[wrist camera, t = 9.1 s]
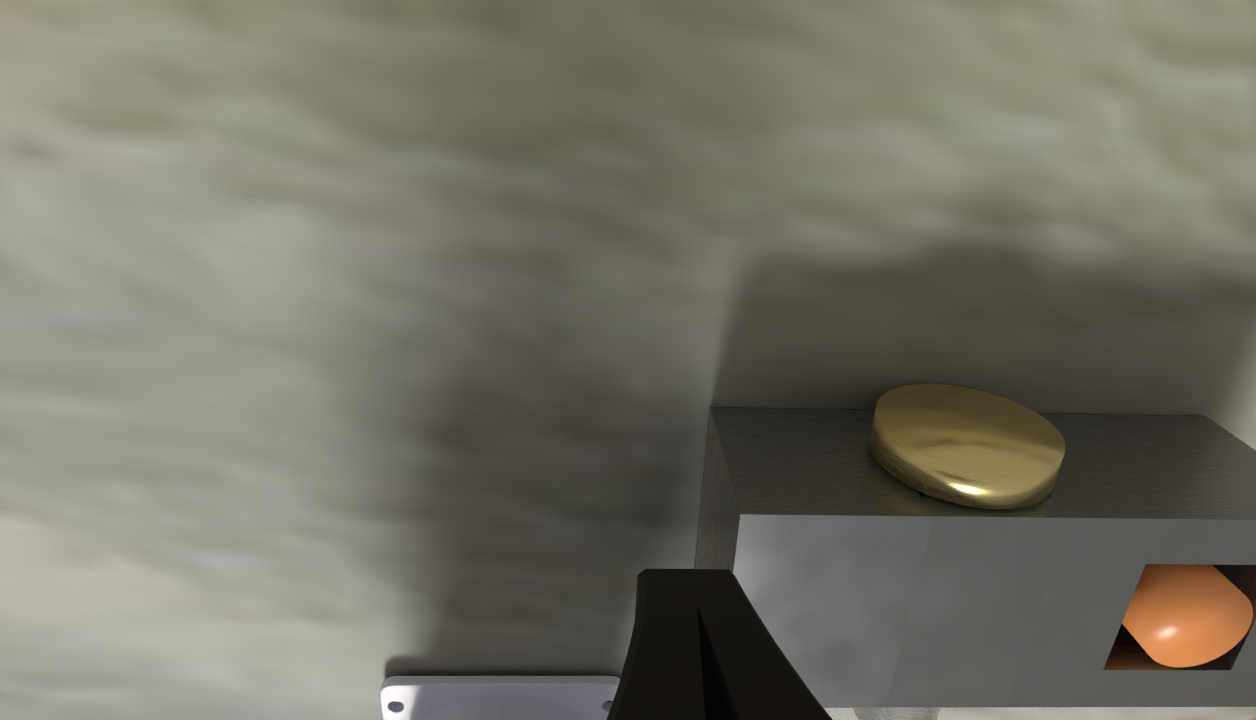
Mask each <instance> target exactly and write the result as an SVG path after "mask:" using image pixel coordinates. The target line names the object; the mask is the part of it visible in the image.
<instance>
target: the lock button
mask: <svg viewBox="0 0 1256 720" xmlns="http://www.w3.org/2000/svg"><path fill="white" fill-rule="evenodd" d="M1252 618H1253V608H1252V605H1251V602H1250V600H1249V599H1248V598H1247V597H1246V595H1245V594H1243V593H1242V592H1241V591H1240V590H1239V589H1238V588H1237V587H1236V586H1235V585H1234V584H1233V583H1231V582H1230V581H1229V580H1228V579H1227V578H1226V577H1225V576H1224V575H1223V574H1222V573H1221V572H1219V571H1218V570H1217V569H1216V568H1215V567H1214V566H1213V565H1204V564H1146V565H1145V567H1144V569H1143V572H1142V574H1141V577H1140V579H1139V582H1138V584H1137V587H1136V589H1135V592H1134V594H1133V597H1132V599H1131V602H1130V604H1129V607H1128V609H1127V612H1126V614H1125V617H1124V619H1123V622H1122V624H1123V625H1124V626H1125V628H1126V629H1127V630H1128V631H1129V632H1130V634H1131V635H1132V636H1133V637H1134V638H1135V639H1136V641H1137V642H1138V643H1139V644H1140V645H1141V647H1142V648H1143V649H1144V650H1145V651H1146V652H1147V654H1148V655H1149V656H1150V657H1151V658H1152V659H1153V660H1155V661H1156V662H1158V663H1160V664H1162V665H1166V666H1170V667H1191V666H1196V665H1200V664H1203V663H1207V662H1209V661H1212V660H1214V659H1216V658H1218V657H1220V656H1222V655H1223V654H1225V653H1226V652H1228V651H1229V650H1231V649H1232V648H1233V647H1234V646H1235V645H1236V644H1238V643H1239V641H1240V640H1241V639H1242V638H1243V637H1244V636H1245V634H1246V633H1247V631H1248V629H1249V627H1250V625H1251V622H1252Z"/></svg>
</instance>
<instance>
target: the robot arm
mask: <svg viewBox="0 0 1256 720" xmlns="http://www.w3.org/2000/svg"><path fill="white" fill-rule="evenodd" d="M379 696H380V703H381V711H382V719H383V720H832V719H831V717H830V716H829V715H828V714H827V712H826V711H825V710H824V708H823V707H822V706H821V704H820V703H819V702H818V701H817V699H816V698H815V697H814V695H813V694H812V693H811V691H810V690H809V689H808V687H807V686H806V684H805V683H804V682H803V680H802V679H801V677H800V676H799V675H798V673H797V672H796V671H795V669H794V668H793V666H792V665H791V664H790V662H789V661H788V659H787V658H786V657H785V655H784V654H783V652H782V651H781V649H780V648H779V646H778V645H777V643H776V642H775V640H774V639H773V637H772V636H771V634H770V633H769V631H768V630H767V628H766V627H765V625H764V623H763V622H762V620H761V619H760V617H759V616H758V614H757V612H756V611H755V609H754V608H753V606H752V604H751V603H750V601H749V599H748V598H747V596H746V594H745V592H744V591H743V589H742V587H741V585H740V584H739V582H738V580H737V578H736V576H735V575H734V574H733V573H732V572H731V571H730V570H729V569H645V570H643V571H642V572H641V573H640V574H638V576H637V594H636V611H635V623H634V628H633V633H632V638H631V642H630V646H629V649H628V653H627V657H626V660H625V664H624V668H623V671H622V675H621V679H620V678H618V677H615V676H392V677H389V678H387V679H385V680H384V681H383V683H382V686H381V689H380V694H379ZM394 701H398V702H401V703H398V702H394ZM606 701H613V702H606Z"/></svg>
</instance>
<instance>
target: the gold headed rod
mask: <svg viewBox="0 0 1256 720" xmlns="http://www.w3.org/2000/svg"><path fill="white" fill-rule="evenodd" d="M869 446H870V450H871V452H872V455H873V457H874V458H875V459H876V461H877V462H878V463H879V464H880V465H881V466H882V467H883V468H884V469H885V470H886V471H887V472H888V473H890V474H891V475H892V476H894V477H895V478H896V479H898V480H899V481H901V482H903V483H905V484H906V485H908V486H910V487H912V488H914V489H916V490H917V492H918V493H919V495H920V496H933V497H935V498H939V499H942V500H945V501H948V502H952V503H956V504H960V505H965V506H970V507H977V508H985V509H1015V508H1022V507H1026V506H1031V505H1033V504H1036V503H1039V502H1040V501H1042V500H1044V499H1045V498H1046V497H1047V496H1048V495H1050V493H1051V492H1052V490H1053V487H1054V484H1055V481H1056V478H1057V475H1058V472H1059V469H1060V466H1061V463H1062V460H1063V457H1064V453H1065V449H1066V447H1065V441H1064V439H1063V437H1062V435H1061V434H1060V432H1059V431H1058V430H1057V429H1056V428H1055V427H1054V426H1053V425H1052V424H1051V423H1050V422H1049V421H1048V420H1046V419H1045V418H1044V417H1042V416H1041V415H1039V414H1038V413H1036V412H1034V411H1032V410H1031V409H1029V408H1027V407H1025V406H1023V405H1021V404H1019V403H1016V402H1014V401H1012V400H1009V399H1006V398H1004V397H1001V396H998V395H995V394H992V393H988V392H985V391H981V390H977V389H972V388H967V387H961V386H955V385H945V384H914V385H907V386H902V387H898V388H895V389H893V390H890V391H888V392H887V393H885V394H884V395H882V396H881V397H880V399H879V400H878V401H877V404H876V408H875V413H874V418H873V423H872V428H871V434H870V439H869ZM940 708H941V707H859V708H853V709H854V712H855V714H856V716H857V718H858V720H937V718H938V714H939V711H940Z"/></svg>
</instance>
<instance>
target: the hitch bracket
mask: <svg viewBox="0 0 1256 720" xmlns="http://www.w3.org/2000/svg"><path fill="white" fill-rule="evenodd" d="M874 413H875V410H831V409H774V408H718V407H710V415H709V425H708V436H707V446H706V456H705V467H704V477H703V487H702V498H701V508H700V518H699V529H698V539H697V549H696V560H695V569H729V570H730V571H731V572H732V573H733V574H734V575H735V576H736V578H737V580H738V582H739V584H740V585H741V587H742V589H743V591H744V592H745V594H746V596H747V598H748V599H749V601H750V603H751V604H752V606H753V608H754V609H755V611H756V612H757V614H758V616H759V617H760V619H761V620H762V622H763V623H764V625H765V627H766V628H767V630H768V631H769V633H770V634H771V636H772V637H773V639H774V640H775V642H776V643H777V645H778V646H779V648H780V649H781V651H782V652H783V654H784V655H785V657H786V658H787V659H788V661H789V662H790V664H791V665H792V666H793V668H794V669H795V671H796V672H797V673H798V675H799V676H800V677H801V679H802V680H803V682H804V683H805V684H806V686H807V687H808V689H809V690H810V691H811V693H812V694H813V695H814V697H815V698H816V699H817V701H818V702H819V703H820V704H821V706H822V707H823V708H859V707H1256V450H1254V449H1253V448H1251V447H1250V446H1248V445H1247V444H1245V443H1244V442H1242V441H1241V440H1239V439H1238V438H1236V437H1235V436H1234V435H1232V434H1231V433H1229V432H1228V431H1226V430H1225V429H1223V428H1222V427H1220V426H1219V425H1217V424H1216V423H1215V422H1213V421H1212V420H1210V419H1209V418H1207V417H1206V416H1167V415H1111V414H1055V413H1038V414H1039V415H1041V416H1042V417H1044V418H1045V419H1046V420H1048V421H1049V422H1050V423H1051V424H1052V425H1053V426H1054V427H1055V428H1056V429H1057V430H1058V431H1059V432H1060V434H1061V435H1062V437H1063V439H1064V441H1065V447H1066V449H1065V453H1064V457H1063V460H1062V463H1061V466H1060V469H1059V472H1058V475H1057V478H1056V481H1055V484H1054V487H1053V490H1052V492H1051V493H1050V495H1048V496H1047V497H1046V498H1045V499H1044V500H1042V501H1040V502H1039V503H1036V504H1033V505H1031V506H1026V507H1022V508H1015V509H985V508H977V507H970V506H965V505H960V504H956V503H952V502H948V501H945V500H942V499H939V498H935V497H933V496H920V495H919V493H918V492H917V490H916V489H914V488H912V487H910V486H908V485H906V484H905V483H903V482H901V481H899V480H898V479H896V478H895V477H894V476H892V475H891V474H890V473H888V472H887V471H886V470H885V469H884V468H883V467H882V466H881V465H880V464H879V463H878V462H877V461H876V459H875V458H874V457H873V455H872V452H871V450H870V446H869V439H870V434H871V428H872V423H873V418H874ZM1146 564H1204V565H1213V566H1214V567H1215V568H1216V569H1217V570H1218V571H1219V572H1221V573H1222V574H1223V575H1224V576H1225V577H1226V578H1227V579H1228V580H1229V581H1230V582H1231V583H1233V584H1234V585H1235V586H1236V587H1237V588H1238V589H1239V590H1240V591H1241V592H1242V593H1243V594H1245V595H1246V597H1247V598H1248V599H1249V600H1250V602H1251V605H1252V608H1253V618H1252V622H1251V625H1250V627H1249V629H1248V631H1247V633H1246V634H1245V636H1244V637H1243V638H1242V639H1241V640H1240V641H1239V643H1238V644H1236V645H1235V646H1234V647H1233V648H1232V649H1231V650H1229V651H1228V652H1226V653H1225V654H1223V655H1222V656H1220V657H1218V658H1216V659H1214V660H1212V661H1209V662H1207V663H1203V664H1200V665H1196V666H1191V667H1170V666H1166V665H1162V664H1160V663H1158V662H1156V661H1155V660H1153V659H1152V658H1151V657H1150V656H1149V655H1148V654H1147V652H1146V651H1145V650H1144V649H1143V648H1142V647H1141V645H1140V644H1139V643H1138V642H1137V641H1136V639H1135V638H1134V637H1133V636H1132V635H1131V634H1130V632H1129V631H1128V630H1127V629H1126V628H1125V626H1124V625H1123V624H1122V622H1123V619H1124V617H1125V614H1126V612H1127V609H1128V607H1129V604H1130V602H1131V599H1132V597H1133V594H1134V592H1135V589H1136V587H1137V584H1138V582H1139V579H1140V577H1141V574H1142V572H1143V569H1144V567H1145V565H1146Z"/></svg>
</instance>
